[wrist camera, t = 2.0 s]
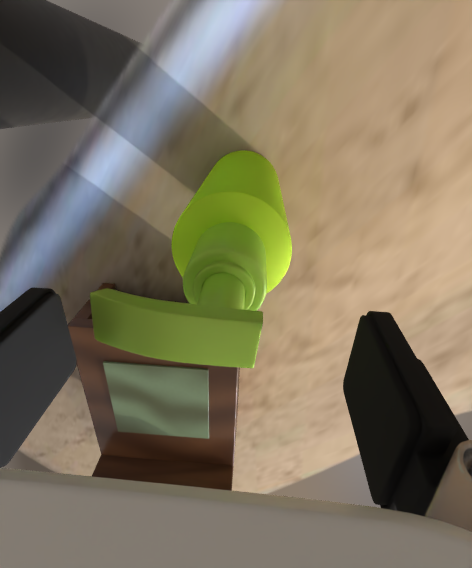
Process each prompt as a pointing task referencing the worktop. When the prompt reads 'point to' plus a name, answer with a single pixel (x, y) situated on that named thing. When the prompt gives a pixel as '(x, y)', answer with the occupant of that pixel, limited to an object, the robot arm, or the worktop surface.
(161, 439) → the wooden picture frame
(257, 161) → the soap dispenser
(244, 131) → the worktop surface
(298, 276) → the worktop surface
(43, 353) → the robot arm
